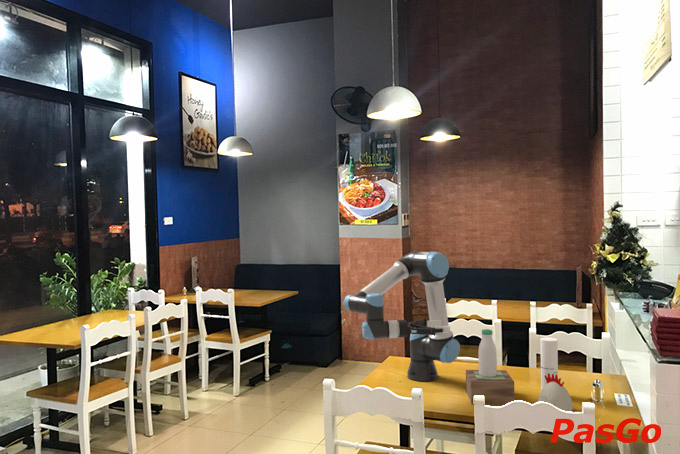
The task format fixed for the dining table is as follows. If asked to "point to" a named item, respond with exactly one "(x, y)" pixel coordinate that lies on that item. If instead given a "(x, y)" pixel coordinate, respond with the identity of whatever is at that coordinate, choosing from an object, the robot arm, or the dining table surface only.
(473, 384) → the walnut stand
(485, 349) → the milk bottle
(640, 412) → the dining table surface
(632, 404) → the dining table surface
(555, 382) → the kitchen timer
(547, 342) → the cylindrical container
